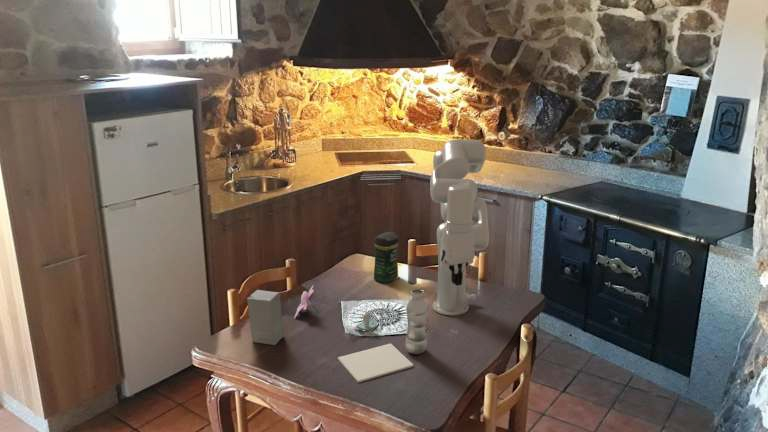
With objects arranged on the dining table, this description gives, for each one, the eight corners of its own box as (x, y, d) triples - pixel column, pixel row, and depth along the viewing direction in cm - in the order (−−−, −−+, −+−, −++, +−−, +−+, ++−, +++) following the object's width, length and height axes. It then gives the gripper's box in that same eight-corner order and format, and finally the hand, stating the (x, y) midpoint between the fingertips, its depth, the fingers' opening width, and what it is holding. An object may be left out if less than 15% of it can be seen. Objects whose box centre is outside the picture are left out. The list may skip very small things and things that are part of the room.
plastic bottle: (403, 346, 190) (404, 287, 184) (425, 345, 190) (426, 286, 184) (406, 357, 184) (407, 296, 177) (428, 356, 184) (430, 295, 178)
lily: (307, 304, 220) (293, 285, 216) (334, 298, 214) (320, 278, 210) (295, 328, 210) (280, 308, 206) (322, 322, 205) (307, 302, 201)
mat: (390, 345, 191) (390, 343, 190) (413, 366, 179) (413, 364, 179) (337, 359, 183) (337, 357, 182) (357, 382, 171) (357, 380, 171)
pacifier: (350, 330, 200) (363, 335, 197) (349, 312, 199) (363, 317, 195) (365, 322, 206) (378, 327, 202) (364, 305, 204) (378, 309, 200)
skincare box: (284, 336, 195) (282, 291, 191) (273, 347, 189) (270, 300, 184) (261, 332, 198) (258, 287, 193) (249, 342, 192) (246, 296, 187)
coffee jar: (386, 285, 234) (387, 239, 228) (370, 280, 238) (370, 235, 232) (401, 277, 241) (402, 232, 235) (385, 272, 246) (385, 228, 240)
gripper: (472, 219, 188) (469, 275, 193) (430, 226, 181) (429, 283, 186) (487, 226, 182) (484, 283, 187) (444, 233, 175) (442, 292, 180)
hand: (456, 283), depth 187 cm, fingers closed
